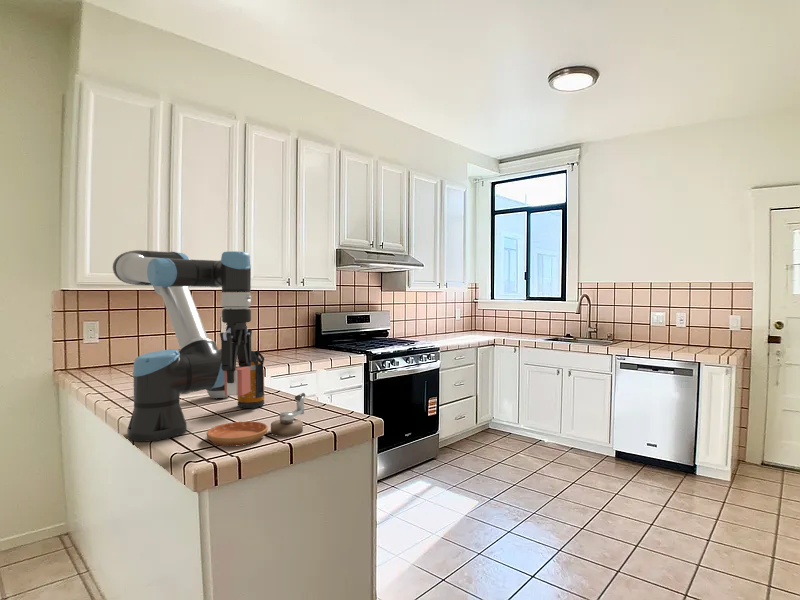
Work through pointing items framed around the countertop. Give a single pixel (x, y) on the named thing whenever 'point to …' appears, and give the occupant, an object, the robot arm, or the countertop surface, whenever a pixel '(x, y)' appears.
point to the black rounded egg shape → (217, 392)
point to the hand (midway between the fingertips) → (237, 392)
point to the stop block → (241, 380)
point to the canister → (254, 383)
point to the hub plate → (286, 428)
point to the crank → (289, 416)
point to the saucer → (237, 433)
